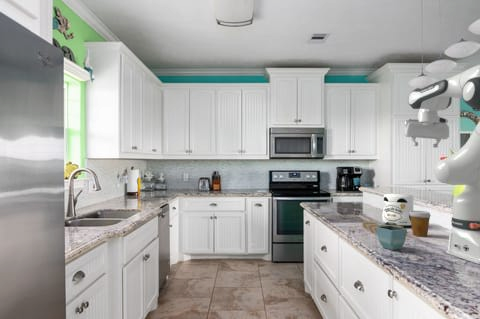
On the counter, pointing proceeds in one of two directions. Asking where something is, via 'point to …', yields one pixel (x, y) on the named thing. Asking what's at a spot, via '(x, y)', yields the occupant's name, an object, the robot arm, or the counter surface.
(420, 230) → the disposable coffee cup
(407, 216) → the milk container
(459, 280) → the counter surface
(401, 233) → the flower pot
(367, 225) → the walnut T block
